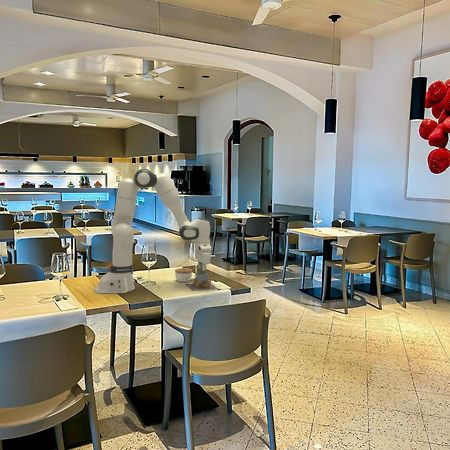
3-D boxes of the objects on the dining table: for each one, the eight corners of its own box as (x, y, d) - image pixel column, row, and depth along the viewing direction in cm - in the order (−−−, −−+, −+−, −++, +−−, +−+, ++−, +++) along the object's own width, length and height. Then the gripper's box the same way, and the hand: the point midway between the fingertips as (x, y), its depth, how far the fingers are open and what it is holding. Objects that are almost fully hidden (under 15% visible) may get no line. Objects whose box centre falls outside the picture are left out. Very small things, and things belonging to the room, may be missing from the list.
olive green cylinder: (199, 272, 252) (199, 264, 251) (196, 270, 257) (196, 262, 256) (207, 272, 254) (207, 264, 253) (204, 270, 258) (205, 262, 258)
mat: (192, 292, 246) (192, 291, 246) (185, 285, 261) (185, 284, 261) (218, 290, 251) (218, 289, 251) (210, 283, 266) (210, 282, 266)
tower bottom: (196, 288, 251) (197, 282, 251) (193, 285, 259) (193, 278, 258) (210, 287, 254) (210, 281, 253) (206, 284, 261) (206, 278, 261)
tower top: (198, 281, 252) (198, 274, 251) (195, 279, 257) (195, 272, 257) (208, 280, 254) (208, 274, 253) (205, 278, 259) (205, 271, 259)
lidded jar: (193, 280, 274) (193, 265, 273) (190, 284, 263) (190, 269, 262) (176, 279, 275) (177, 265, 274) (173, 283, 264) (173, 268, 263)
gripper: (192, 243, 262) (192, 265, 264) (202, 248, 243) (201, 272, 244) (202, 242, 264) (202, 264, 266) (212, 248, 245) (212, 272, 246)
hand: (201, 268), depth 255 cm, fingers closed on olive green cylinder, 5 cm apart
